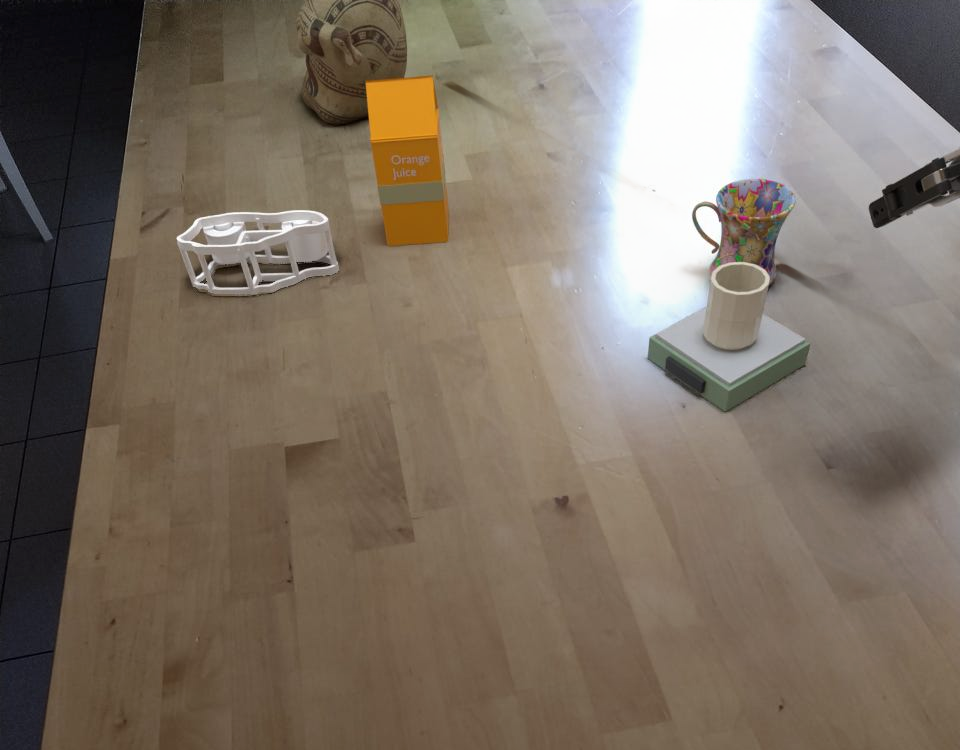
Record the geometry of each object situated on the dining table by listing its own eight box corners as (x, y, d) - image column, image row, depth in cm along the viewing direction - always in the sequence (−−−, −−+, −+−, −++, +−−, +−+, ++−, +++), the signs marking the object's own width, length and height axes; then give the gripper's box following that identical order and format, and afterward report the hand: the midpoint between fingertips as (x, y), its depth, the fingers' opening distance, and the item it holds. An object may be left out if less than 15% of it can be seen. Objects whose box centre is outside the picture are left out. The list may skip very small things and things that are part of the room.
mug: (784, 263, 117) (802, 183, 109) (771, 304, 112) (788, 222, 104) (693, 251, 121) (703, 171, 112) (676, 289, 116) (686, 210, 107)
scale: (725, 315, 112) (729, 290, 109) (805, 364, 105) (812, 339, 102) (644, 360, 108) (646, 335, 105) (721, 414, 101) (726, 389, 98)
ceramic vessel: (293, 138, 148) (242, -86, 124) (313, 81, 161) (270, -132, 137) (407, 132, 147) (377, -96, 123) (418, 75, 159) (393, -142, 135)
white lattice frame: (345, 250, 127) (334, 199, 121) (331, 295, 121) (319, 244, 115) (210, 253, 129) (193, 203, 123) (189, 298, 123) (170, 248, 117)
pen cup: (729, 313, 106) (739, 255, 100) (769, 338, 103) (782, 279, 97) (690, 335, 104) (698, 276, 98) (730, 360, 101) (740, 301, 95)
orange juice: (448, 242, 126) (432, 89, 110) (387, 246, 127) (361, 94, 111) (449, 213, 131) (434, 62, 115) (389, 217, 131) (366, 67, 115)
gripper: (1139, 35, 65) (964, 137, 80) (985, 87, 62) (834, 182, 77) (1162, 140, 66) (986, 220, 81) (1012, 196, 63) (859, 268, 79)
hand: (912, 202), depth 79 cm, fingers open, 8 cm apart
